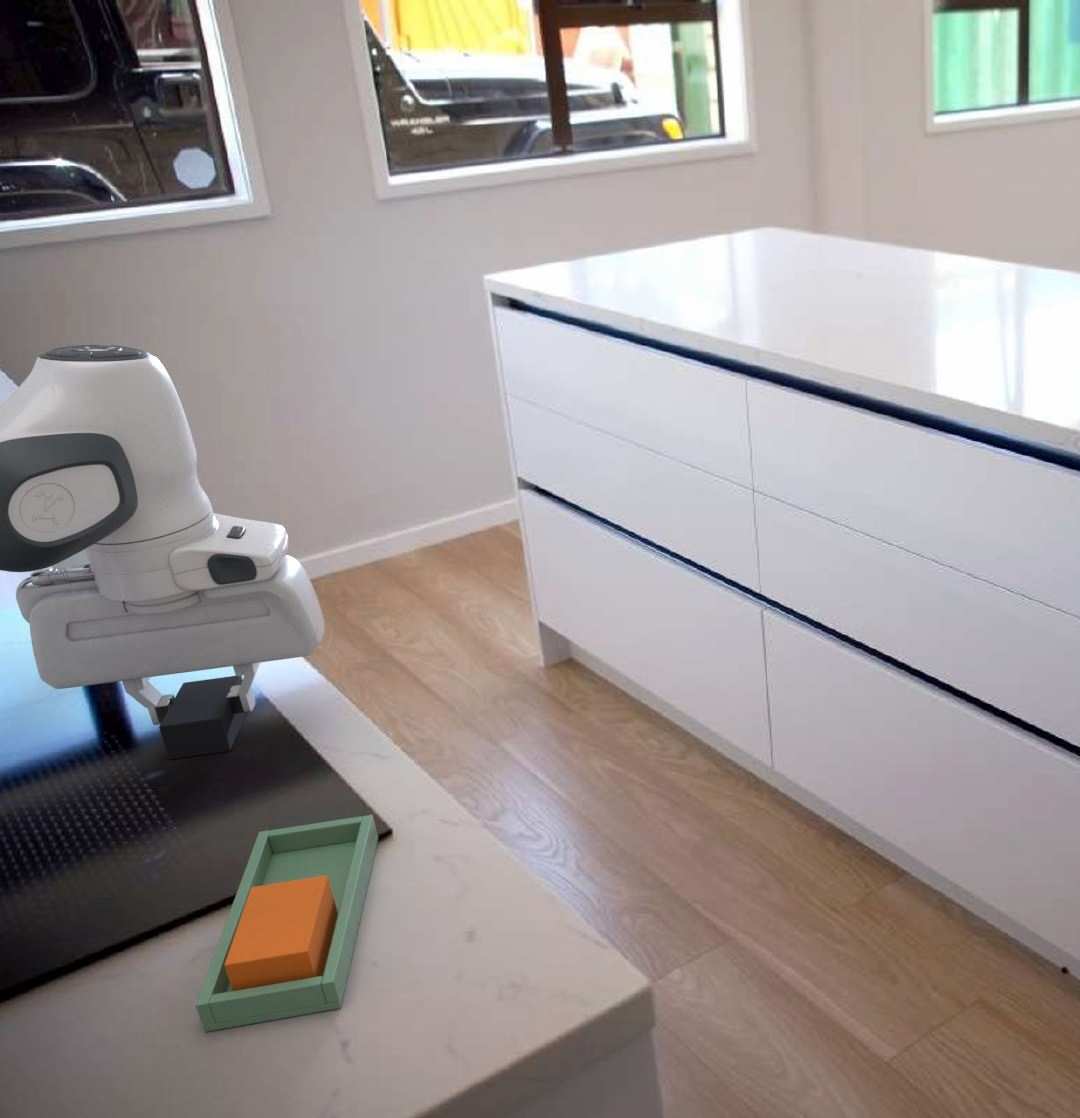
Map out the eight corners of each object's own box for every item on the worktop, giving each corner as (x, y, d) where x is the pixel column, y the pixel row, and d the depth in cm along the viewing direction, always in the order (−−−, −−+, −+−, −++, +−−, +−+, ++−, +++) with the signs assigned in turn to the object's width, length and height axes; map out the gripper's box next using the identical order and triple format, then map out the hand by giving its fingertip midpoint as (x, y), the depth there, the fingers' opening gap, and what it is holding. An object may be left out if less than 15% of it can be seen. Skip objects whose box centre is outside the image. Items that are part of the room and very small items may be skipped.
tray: (204, 1032, 72) (195, 1005, 71) (265, 855, 86) (258, 831, 86) (341, 1008, 73) (333, 981, 72) (378, 838, 87) (372, 814, 87)
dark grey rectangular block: (169, 760, 98) (158, 727, 97) (192, 714, 104) (183, 682, 103) (230, 751, 99) (220, 718, 98) (250, 706, 105) (241, 674, 104)
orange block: (236, 1005, 73) (223, 965, 71) (262, 925, 79) (250, 886, 78) (319, 991, 73) (307, 951, 72) (338, 913, 80) (327, 874, 78)
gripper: (-10, 592, 91) (50, 756, 96) (290, 555, 94) (331, 716, 100) (24, 557, 96) (79, 713, 102) (306, 523, 99) (344, 677, 105)
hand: (206, 714), depth 101 cm, fingers closed on dark grey rectangular block, 4 cm apart
